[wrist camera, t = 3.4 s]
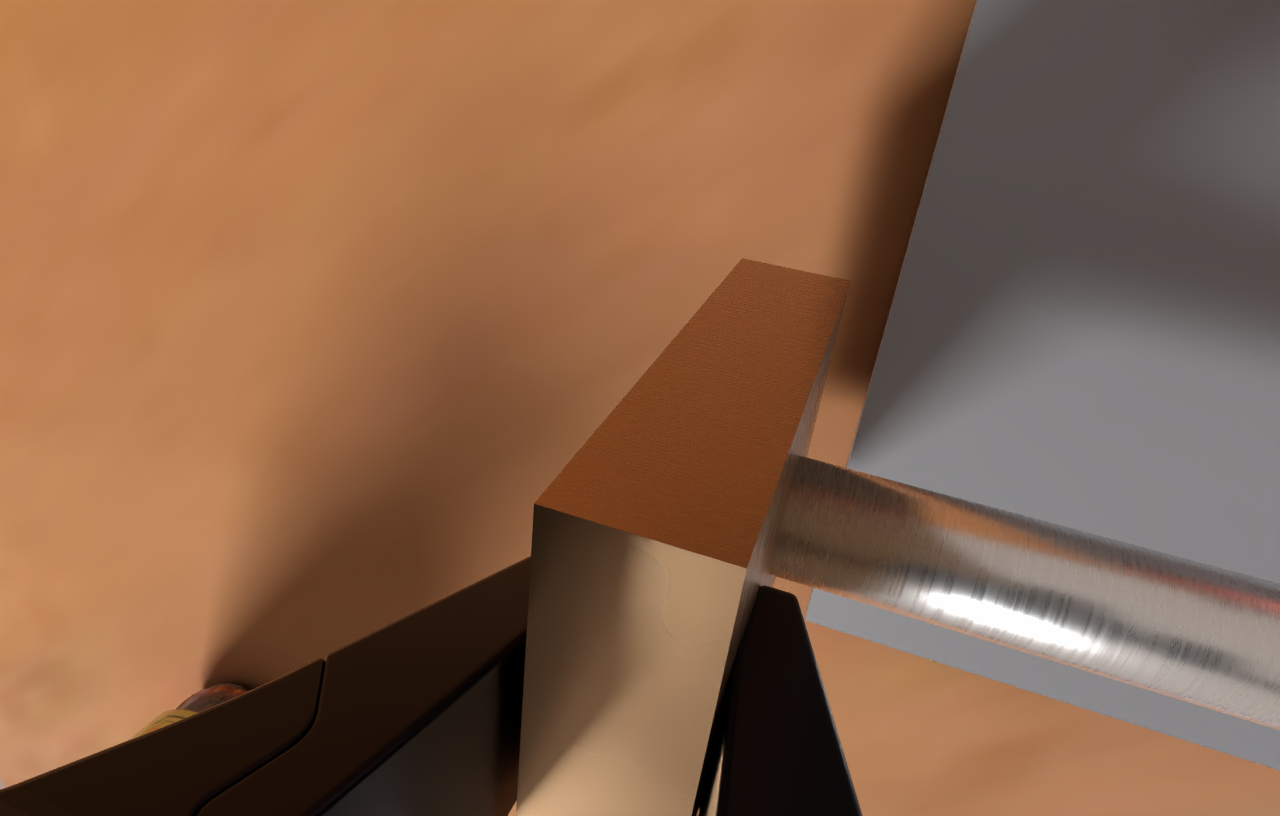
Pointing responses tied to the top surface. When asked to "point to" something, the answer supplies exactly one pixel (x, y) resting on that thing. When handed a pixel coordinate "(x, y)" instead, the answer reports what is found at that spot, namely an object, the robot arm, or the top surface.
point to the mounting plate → (1094, 313)
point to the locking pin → (808, 565)
